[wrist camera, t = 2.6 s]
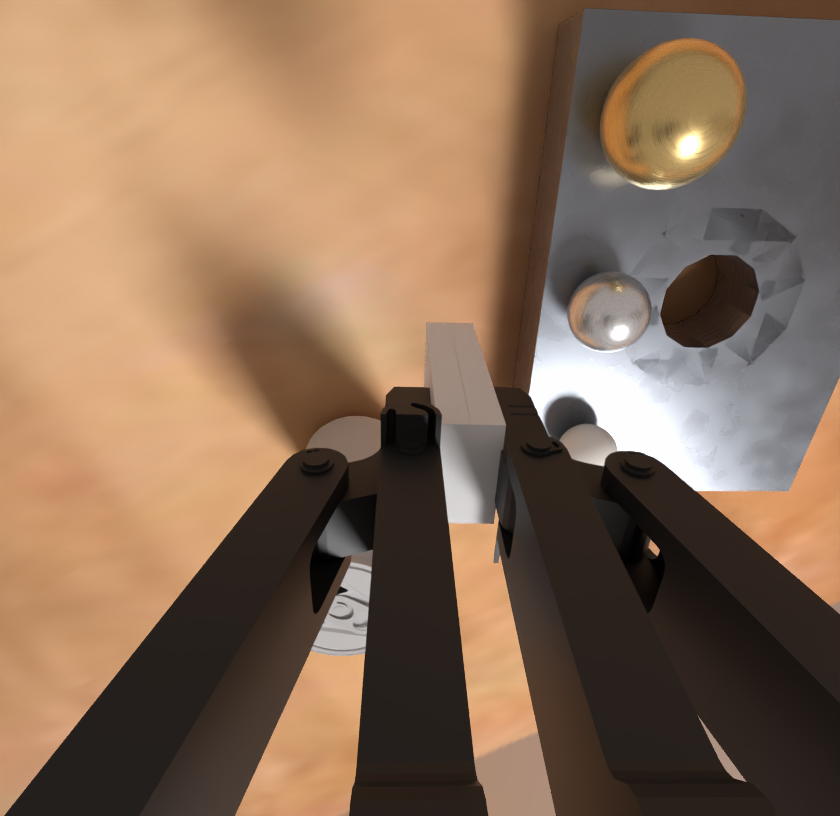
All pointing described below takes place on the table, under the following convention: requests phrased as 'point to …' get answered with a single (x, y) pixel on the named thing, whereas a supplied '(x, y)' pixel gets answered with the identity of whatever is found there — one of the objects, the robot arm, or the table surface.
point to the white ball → (589, 443)
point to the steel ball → (609, 312)
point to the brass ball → (673, 113)
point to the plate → (695, 256)
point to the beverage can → (351, 602)
